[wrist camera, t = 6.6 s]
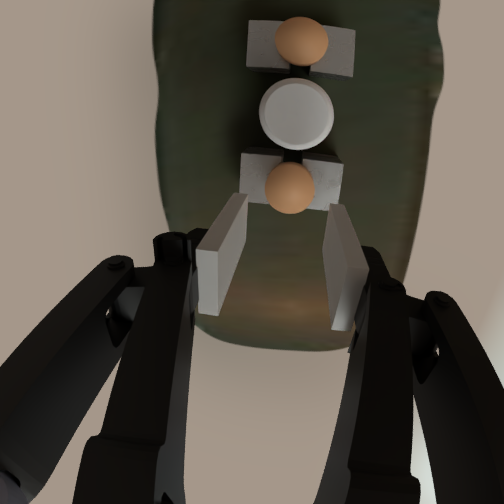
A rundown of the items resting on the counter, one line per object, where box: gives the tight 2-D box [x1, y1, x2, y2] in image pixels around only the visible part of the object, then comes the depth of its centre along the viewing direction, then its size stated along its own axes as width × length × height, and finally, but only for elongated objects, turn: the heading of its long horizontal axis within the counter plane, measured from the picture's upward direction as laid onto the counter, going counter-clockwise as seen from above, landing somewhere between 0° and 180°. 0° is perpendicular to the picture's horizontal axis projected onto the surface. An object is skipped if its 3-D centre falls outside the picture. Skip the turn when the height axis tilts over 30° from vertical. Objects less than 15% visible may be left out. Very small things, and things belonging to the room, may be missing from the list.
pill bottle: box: [259, 78, 334, 150], centre depth 21 cm, size 5×5×9 cm
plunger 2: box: [265, 162, 315, 214], centre depth 24 cm, size 4×4×5 cm
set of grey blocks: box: [239, 20, 355, 211], centre depth 23 cm, size 15×8×4 cm, turn 177°
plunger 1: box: [275, 17, 328, 66], centre depth 19 cm, size 4×4×5 cm
